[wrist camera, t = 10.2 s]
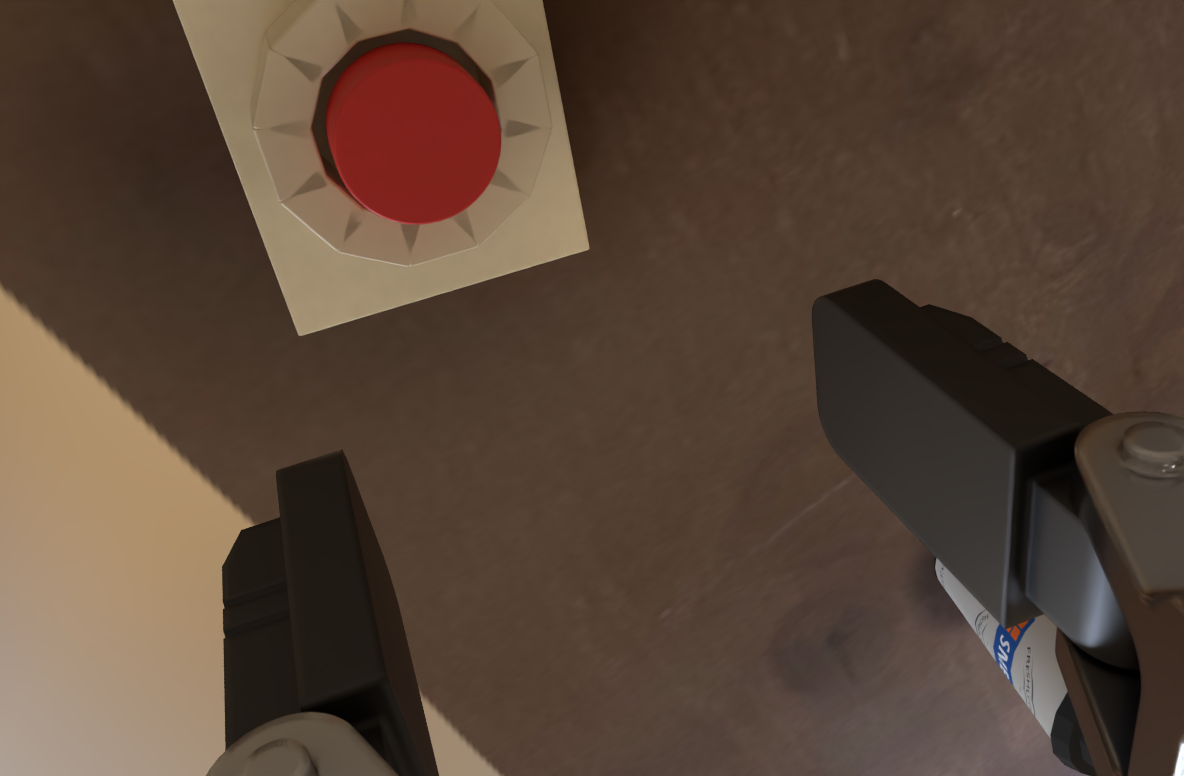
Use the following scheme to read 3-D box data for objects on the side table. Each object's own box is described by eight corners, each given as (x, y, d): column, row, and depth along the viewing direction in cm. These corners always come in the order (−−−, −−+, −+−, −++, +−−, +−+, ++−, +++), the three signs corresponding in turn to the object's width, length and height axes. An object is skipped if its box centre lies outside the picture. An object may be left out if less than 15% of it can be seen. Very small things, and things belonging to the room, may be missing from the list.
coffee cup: (1060, 451, 41) (1274, 615, 33) (1053, 577, 45) (1244, 753, 37) (905, 513, 40) (1087, 699, 32) (912, 637, 44) (1076, 832, 36)
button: (303, 65, 22) (309, 83, 21) (464, 23, 23) (481, 39, 21) (352, 218, 24) (362, 245, 23) (499, 176, 25) (517, 200, 23)
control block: (148, -88, 23) (138, -69, 20) (490, -164, 25) (533, -158, 21) (293, 302, 28) (304, 369, 25) (567, 222, 30) (611, 275, 27)
